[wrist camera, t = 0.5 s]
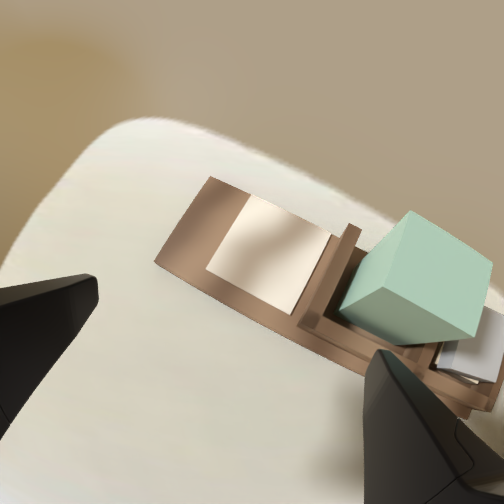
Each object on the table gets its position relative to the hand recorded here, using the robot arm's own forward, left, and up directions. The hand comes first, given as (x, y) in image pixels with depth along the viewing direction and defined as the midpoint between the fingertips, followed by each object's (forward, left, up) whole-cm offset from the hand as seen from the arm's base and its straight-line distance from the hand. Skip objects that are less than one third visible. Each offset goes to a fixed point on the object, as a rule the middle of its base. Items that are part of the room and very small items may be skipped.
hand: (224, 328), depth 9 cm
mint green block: (-3, -9, -13) cm, 16 cm away
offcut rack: (-2, -8, -14) cm, 16 cm away
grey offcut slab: (-10, -14, -11) cm, 20 cm away
